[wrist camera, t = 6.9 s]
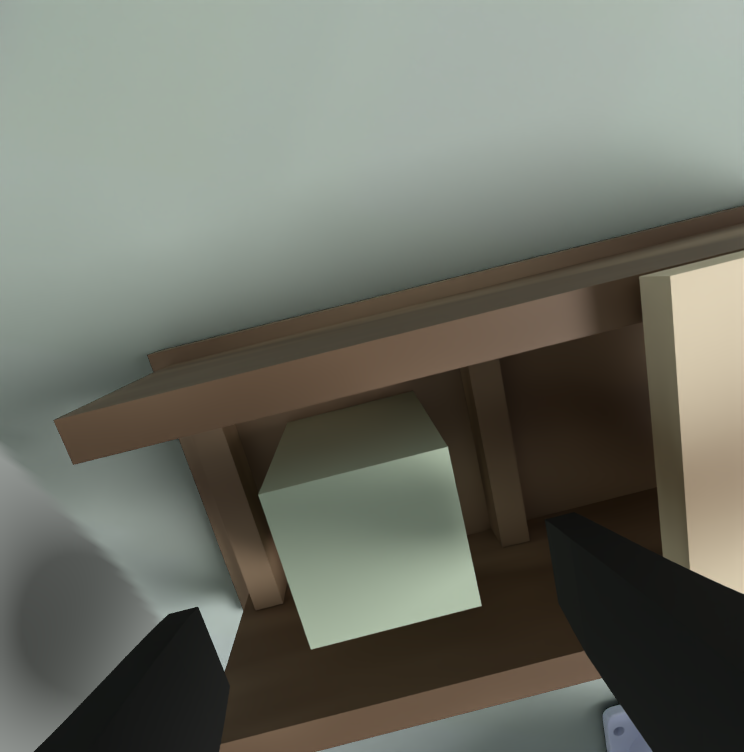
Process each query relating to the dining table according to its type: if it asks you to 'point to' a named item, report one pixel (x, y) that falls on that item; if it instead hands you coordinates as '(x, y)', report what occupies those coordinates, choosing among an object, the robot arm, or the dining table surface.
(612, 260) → the brown wooden box
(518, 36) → the dining table surface
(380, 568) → the block
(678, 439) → the lid
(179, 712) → the robot arm
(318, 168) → the dining table surface
